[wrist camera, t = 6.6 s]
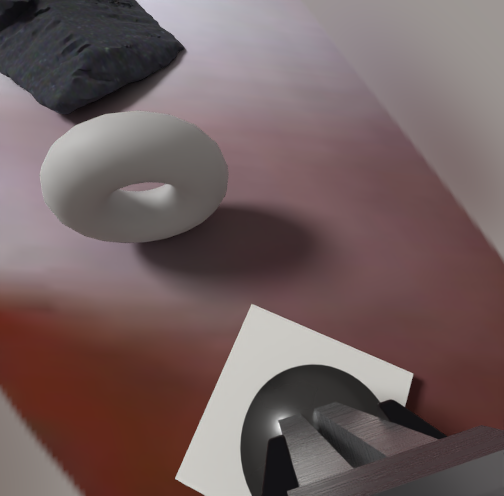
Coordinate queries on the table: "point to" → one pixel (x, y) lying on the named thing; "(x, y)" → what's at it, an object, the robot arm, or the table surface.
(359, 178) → the table surface
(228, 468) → the ceramic tile
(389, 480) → the grey channel block
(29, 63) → the folded grey shirt
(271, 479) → the robot arm
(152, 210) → the donut
